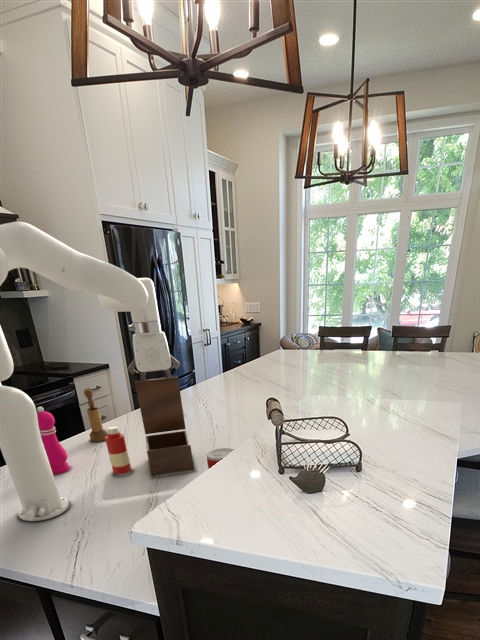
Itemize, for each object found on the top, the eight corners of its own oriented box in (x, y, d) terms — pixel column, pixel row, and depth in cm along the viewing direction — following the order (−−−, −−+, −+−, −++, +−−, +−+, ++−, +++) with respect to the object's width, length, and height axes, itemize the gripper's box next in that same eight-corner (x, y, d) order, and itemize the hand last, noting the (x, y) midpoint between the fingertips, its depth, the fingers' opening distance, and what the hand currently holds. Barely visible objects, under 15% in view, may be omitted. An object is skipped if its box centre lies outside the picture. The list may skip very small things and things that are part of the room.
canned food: (207, 490, 129) (202, 451, 124) (235, 483, 132) (231, 445, 126) (216, 500, 123) (211, 460, 117) (245, 493, 126) (241, 454, 120)
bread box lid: (177, 376, 140) (176, 373, 144) (134, 381, 138) (134, 377, 142) (185, 429, 149) (184, 424, 153) (145, 434, 147) (144, 429, 151)
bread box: (194, 471, 141) (190, 445, 137) (152, 478, 139) (146, 451, 135) (189, 455, 154) (185, 430, 150) (150, 460, 152) (145, 435, 148)
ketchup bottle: (132, 474, 143) (121, 429, 135) (113, 477, 142) (102, 431, 134) (132, 468, 147) (122, 423, 140) (114, 471, 146) (103, 426, 139)
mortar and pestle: (112, 437, 176) (100, 387, 166) (99, 442, 171) (86, 391, 162) (100, 435, 179) (88, 386, 169) (87, 440, 174) (73, 390, 165)
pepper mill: (63, 474, 146) (43, 409, 136) (42, 474, 148) (21, 410, 137) (75, 466, 152) (57, 403, 142) (55, 465, 154) (35, 403, 143)
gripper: (116, 332, 131) (130, 398, 141) (178, 326, 134) (187, 391, 143) (117, 329, 137) (130, 393, 147) (176, 323, 140) (185, 386, 149)
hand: (158, 392), depth 145 cm, fingers closed on bread box lid, 6 cm apart
